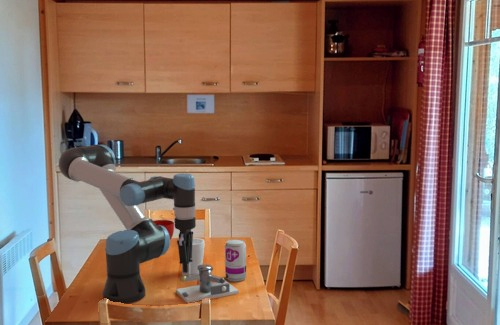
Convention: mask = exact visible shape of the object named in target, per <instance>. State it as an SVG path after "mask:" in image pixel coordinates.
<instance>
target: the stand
mask: <svg viewBox="0 0 500 325" xmlns="http://www.w3.org/2000/svg"><path fill="white" fill-rule="evenodd" d="M211 284H212V286H211V292H207V293H203V292H200V286H199V284H197V285H192V286H187V287H181V288H175V294H177V295H178V296H179V297H180V298H181V299H183V300H182V301H184V302H185V301H186V302H187V303H186V302H185V303H186V304H189V303H188V302H192V303H195V302H194V301H198V302H200V301H199V300H202V299H205V298H211V299H210V300H213V299H217V297H218V298H222V297H228V296H232V295H238V294H239V293H240V291H239V289H237V288H236V287H235V286H233V284H231V283H229V282H228V280H225V282H224V283H223V284H221V283H217V282H214V281H212V282H211ZM212 298H213V299H212Z"/></svg>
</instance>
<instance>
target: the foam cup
mask: <svg viewBox="0 0 500 325" xmlns="http://www.w3.org/2000/svg"><path fill="white" fill-rule="evenodd" d="M205 243H206V242H205V239H203V238H197V237H193V242H192V258H191V260H193V261H192V262H190V275H195V274H199V270H198V269H197V267H198V266H199V265H203V261H204V254H205V248H206V247H205V246H206V244H205Z"/></svg>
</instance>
